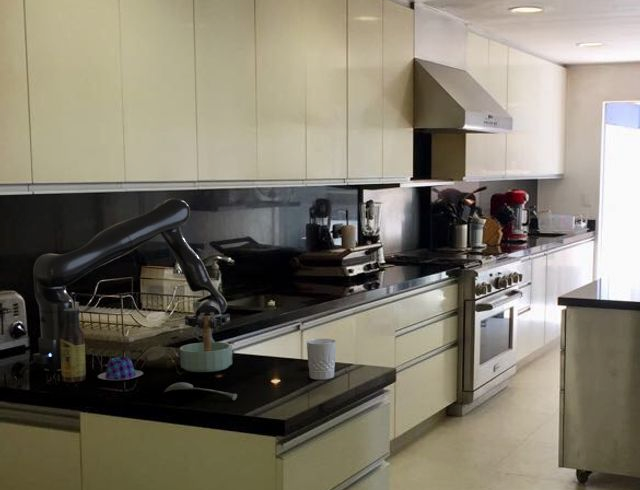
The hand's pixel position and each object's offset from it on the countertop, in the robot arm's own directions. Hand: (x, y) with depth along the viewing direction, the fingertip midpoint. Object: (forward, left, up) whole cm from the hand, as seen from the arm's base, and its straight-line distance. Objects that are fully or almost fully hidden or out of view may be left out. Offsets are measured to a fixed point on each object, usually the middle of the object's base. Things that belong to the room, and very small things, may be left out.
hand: (206, 324), depth 265 cm
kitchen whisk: (+25, +24, -13) cm, 37 cm away
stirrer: (+2, +2, -11) cm, 11 cm away
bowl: (+1, +2, -13) cm, 13 cm away
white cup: (+7, -35, -13) cm, 38 cm away
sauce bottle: (-29, +22, -13) cm, 38 cm away
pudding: (-20, +14, -13) cm, 27 cm away
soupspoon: (-24, -20, -13) cm, 34 cm away
